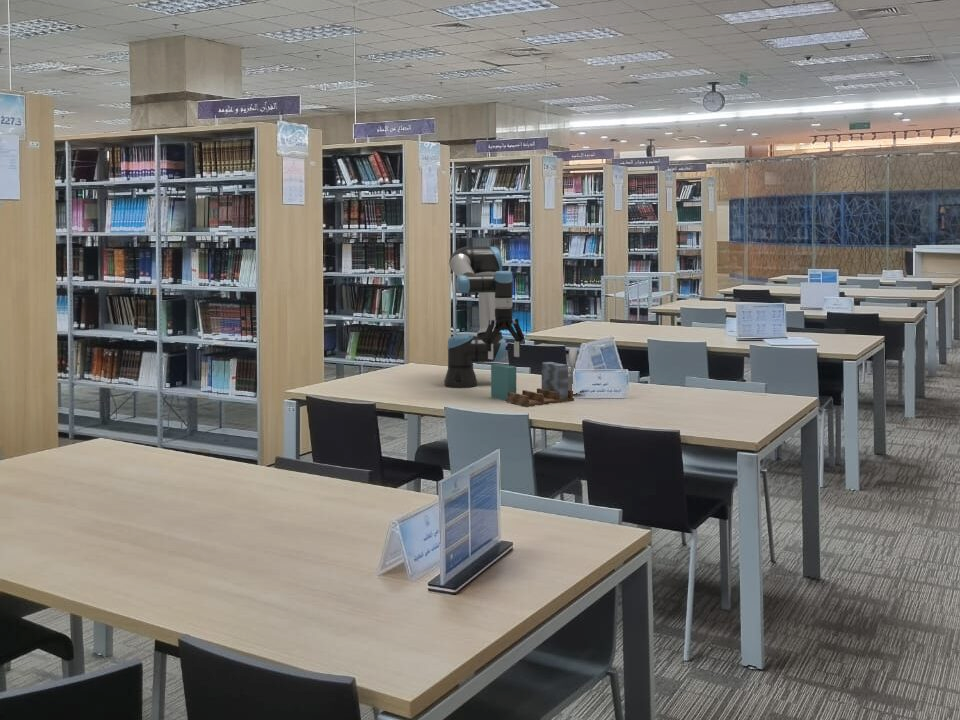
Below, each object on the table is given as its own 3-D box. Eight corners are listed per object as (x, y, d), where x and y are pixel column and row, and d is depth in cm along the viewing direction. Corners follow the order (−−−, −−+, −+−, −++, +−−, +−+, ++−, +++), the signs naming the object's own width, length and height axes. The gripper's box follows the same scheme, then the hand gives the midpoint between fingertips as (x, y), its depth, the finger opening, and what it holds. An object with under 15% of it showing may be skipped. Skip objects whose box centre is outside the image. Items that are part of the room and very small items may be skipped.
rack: (506, 402, 409) (506, 365, 407) (552, 395, 423) (553, 361, 421) (526, 407, 397) (526, 369, 395) (573, 400, 412) (574, 364, 409)
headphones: (582, 397, 420) (583, 350, 417) (561, 396, 421) (561, 350, 418) (584, 390, 438) (585, 345, 435) (564, 389, 439) (564, 345, 437)
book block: (491, 396, 422) (491, 364, 420) (499, 395, 424) (499, 363, 422) (507, 400, 412) (507, 367, 410) (516, 399, 414) (516, 367, 412)
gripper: (484, 309, 402) (484, 361, 405) (532, 307, 417) (532, 356, 419) (474, 308, 409) (474, 359, 411) (521, 306, 423) (521, 354, 425)
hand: (503, 358), depth 415 cm, fingers open, 13 cm apart
